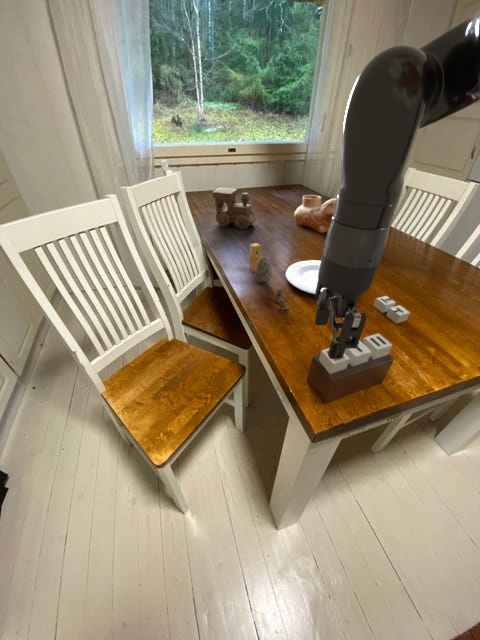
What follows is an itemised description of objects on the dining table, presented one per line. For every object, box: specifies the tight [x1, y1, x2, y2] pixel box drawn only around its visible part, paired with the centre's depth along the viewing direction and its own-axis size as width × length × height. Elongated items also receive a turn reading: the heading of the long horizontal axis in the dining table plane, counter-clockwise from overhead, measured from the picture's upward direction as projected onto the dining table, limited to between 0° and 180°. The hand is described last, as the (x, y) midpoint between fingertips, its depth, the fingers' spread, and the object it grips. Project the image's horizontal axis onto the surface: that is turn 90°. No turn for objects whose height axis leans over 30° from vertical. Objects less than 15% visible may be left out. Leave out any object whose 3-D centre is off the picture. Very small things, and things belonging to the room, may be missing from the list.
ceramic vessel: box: [293, 194, 337, 234], centre depth 138 cm, size 14×26×15 cm, turn 41°
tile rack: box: [306, 340, 395, 405], centre depth 61 cm, size 7×16×8 cm, turn 111°
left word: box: [344, 332, 393, 367], centre depth 58 cm, size 4×10×3 cm, turn 111°
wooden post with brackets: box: [275, 288, 289, 313], centre depth 86 cm, size 2×8×4 cm, turn 11°
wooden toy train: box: [212, 187, 257, 230], centre depth 138 cm, size 20×11×17 cm, turn 72°
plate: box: [285, 259, 326, 295], centre depth 98 cm, size 25×25×2 cm
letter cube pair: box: [372, 295, 411, 324], centre depth 83 cm, size 10×4×3 cm, turn 21°
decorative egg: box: [254, 256, 273, 284], centre depth 94 cm, size 6×6×10 cm
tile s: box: [319, 347, 350, 374], centre depth 56 cm, size 4×4×3 cm
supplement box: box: [248, 242, 262, 273], centre depth 102 cm, size 3×4×10 cm
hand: (327, 339), depth 47 cm, fingers open, 8 cm apart
